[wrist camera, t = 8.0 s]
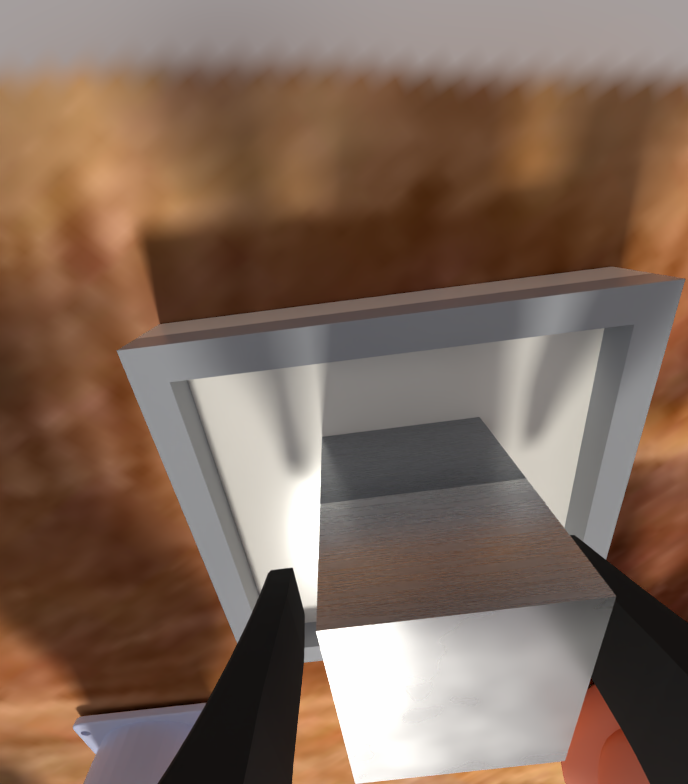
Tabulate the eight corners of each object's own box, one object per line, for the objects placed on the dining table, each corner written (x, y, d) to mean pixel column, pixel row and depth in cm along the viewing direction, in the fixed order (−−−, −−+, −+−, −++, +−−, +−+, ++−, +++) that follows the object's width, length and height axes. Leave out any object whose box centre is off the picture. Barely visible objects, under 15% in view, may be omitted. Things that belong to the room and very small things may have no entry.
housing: (473, 551, 14) (564, 760, 9) (345, 566, 14) (355, 783, 9) (479, 416, 11) (616, 595, 6) (321, 436, 11) (316, 631, 6)
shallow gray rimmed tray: (551, 576, 17) (585, 630, 15) (258, 610, 17) (247, 668, 15) (612, 266, 11) (685, 279, 9) (159, 324, 11) (116, 350, 9)
